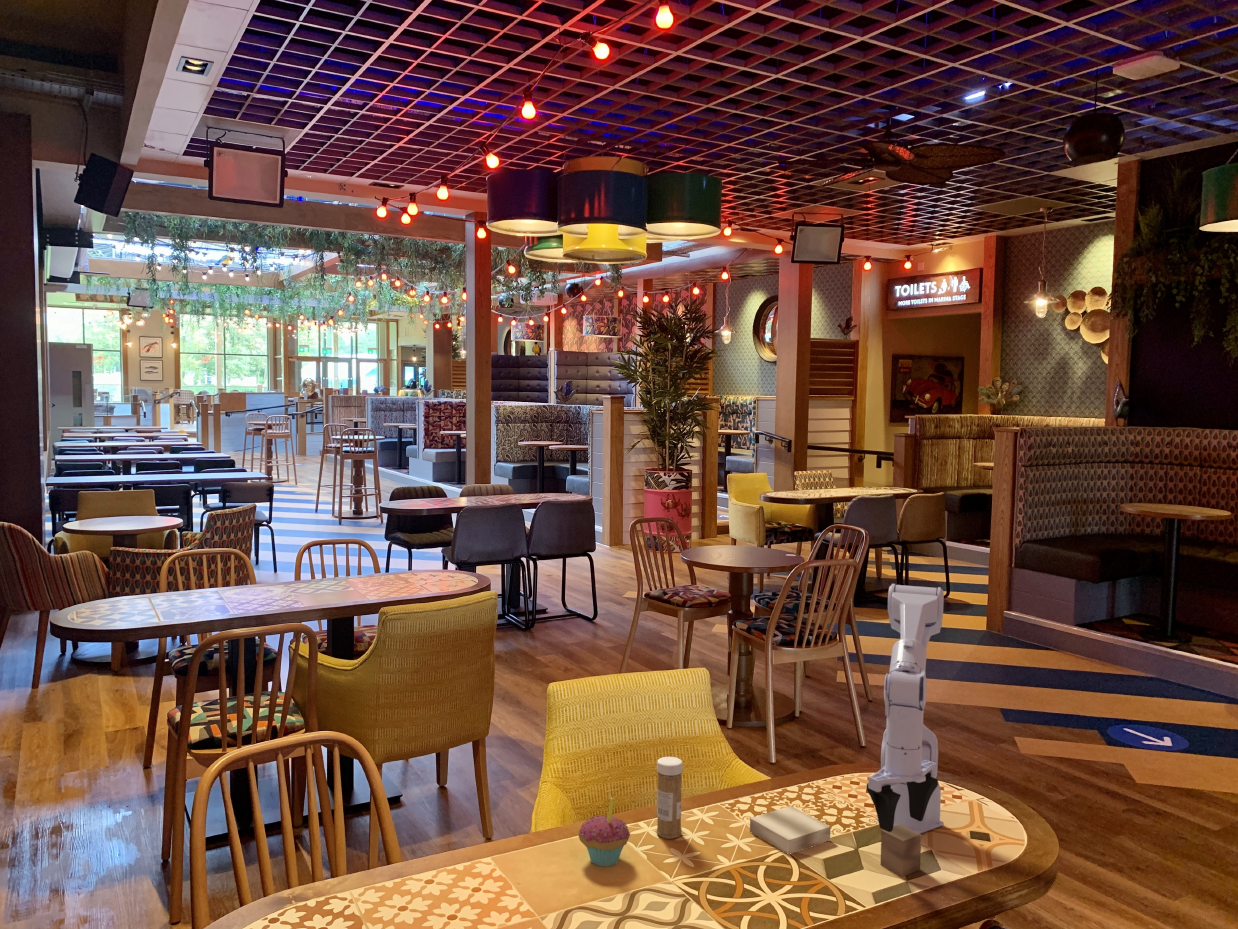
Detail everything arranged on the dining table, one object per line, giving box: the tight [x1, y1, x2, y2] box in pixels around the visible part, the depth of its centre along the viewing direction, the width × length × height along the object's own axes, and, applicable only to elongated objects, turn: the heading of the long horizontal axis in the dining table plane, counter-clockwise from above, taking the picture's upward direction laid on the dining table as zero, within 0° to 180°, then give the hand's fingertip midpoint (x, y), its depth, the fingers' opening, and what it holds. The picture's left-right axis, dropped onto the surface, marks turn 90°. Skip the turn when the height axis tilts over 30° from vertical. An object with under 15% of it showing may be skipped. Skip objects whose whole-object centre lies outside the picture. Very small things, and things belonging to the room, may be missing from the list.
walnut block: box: [880, 824, 922, 877], centre depth 151 cm, size 4×4×6 cm
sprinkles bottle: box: [656, 756, 684, 840], centre depth 162 cm, size 5×5×13 cm
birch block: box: [749, 805, 831, 855], centre depth 162 cm, size 10×10×3 cm
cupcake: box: [578, 793, 631, 867], centre depth 152 cm, size 9×8×12 cm
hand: (901, 824), depth 151 cm, fingers open, 7 cm apart
